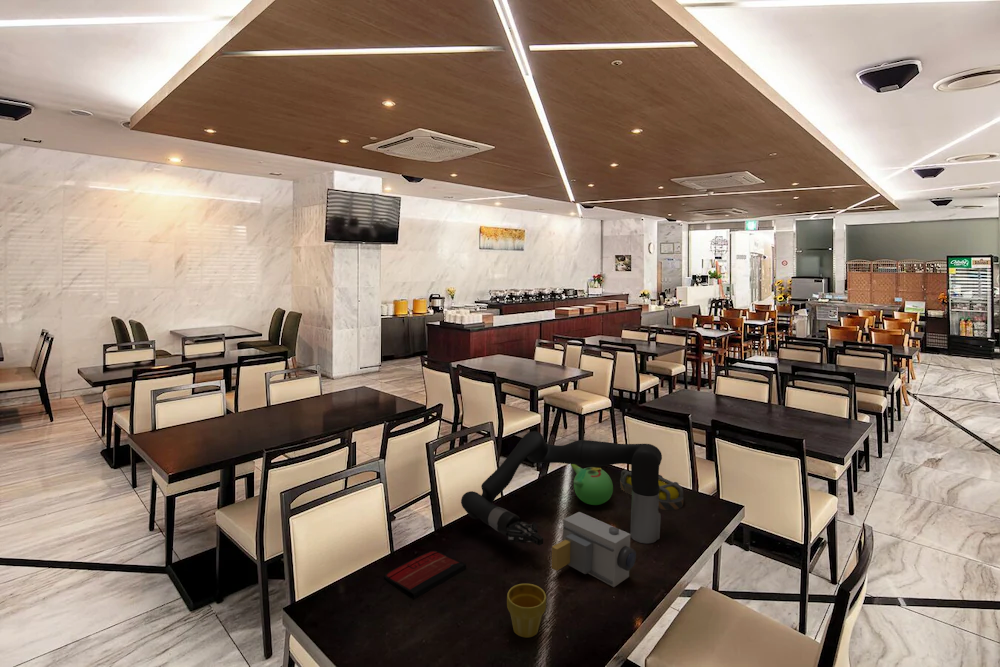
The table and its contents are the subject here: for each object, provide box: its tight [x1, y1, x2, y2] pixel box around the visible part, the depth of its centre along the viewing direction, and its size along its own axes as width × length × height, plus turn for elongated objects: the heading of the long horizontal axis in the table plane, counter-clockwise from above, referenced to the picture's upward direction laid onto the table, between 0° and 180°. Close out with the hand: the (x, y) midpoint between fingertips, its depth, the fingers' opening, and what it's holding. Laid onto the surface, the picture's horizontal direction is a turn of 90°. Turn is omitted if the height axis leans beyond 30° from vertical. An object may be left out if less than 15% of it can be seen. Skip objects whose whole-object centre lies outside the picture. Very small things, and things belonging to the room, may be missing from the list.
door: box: [551, 533, 592, 575], centre depth 159 cm, size 10×8×9 cm
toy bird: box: [570, 464, 614, 506], centre depth 211 cm, size 18×17×15 cm
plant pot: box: [506, 583, 547, 638], centre depth 136 cm, size 10×10×10 cm
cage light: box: [619, 469, 684, 511], centre depth 218 cm, size 15×8×30 cm
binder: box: [384, 550, 467, 600], centre depth 162 cm, size 16×2×21 cm
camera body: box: [562, 511, 637, 588], centre depth 163 cm, size 9×23×15 cm, turn 43°
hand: (541, 542), depth 164 cm, fingers closed
